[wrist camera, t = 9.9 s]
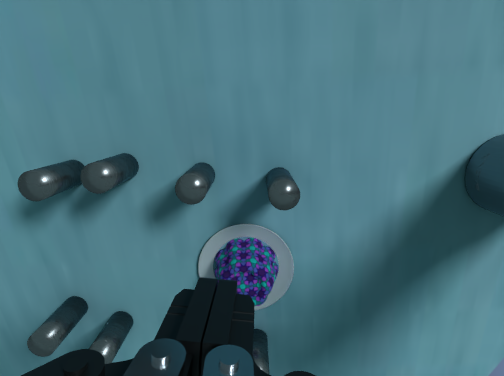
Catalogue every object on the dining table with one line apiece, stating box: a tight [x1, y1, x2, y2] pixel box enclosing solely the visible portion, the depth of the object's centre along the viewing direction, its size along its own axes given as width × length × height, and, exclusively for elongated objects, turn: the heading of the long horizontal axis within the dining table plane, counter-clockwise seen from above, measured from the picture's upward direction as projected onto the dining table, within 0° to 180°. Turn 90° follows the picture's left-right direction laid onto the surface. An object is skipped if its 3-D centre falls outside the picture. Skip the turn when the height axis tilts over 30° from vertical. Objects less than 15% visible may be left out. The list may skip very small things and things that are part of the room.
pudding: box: [198, 224, 294, 310], centre depth 37 cm, size 12×12×5 cm
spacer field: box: [18, 153, 300, 374], centre depth 36 cm, size 27×25×7 cm
